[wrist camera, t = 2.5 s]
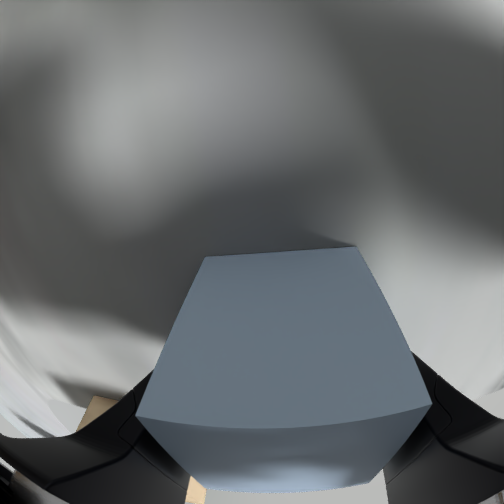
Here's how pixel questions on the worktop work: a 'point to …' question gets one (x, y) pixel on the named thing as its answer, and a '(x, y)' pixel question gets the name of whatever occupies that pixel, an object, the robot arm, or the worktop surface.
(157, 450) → the robot arm
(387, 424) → the blue block
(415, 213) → the worktop surface
